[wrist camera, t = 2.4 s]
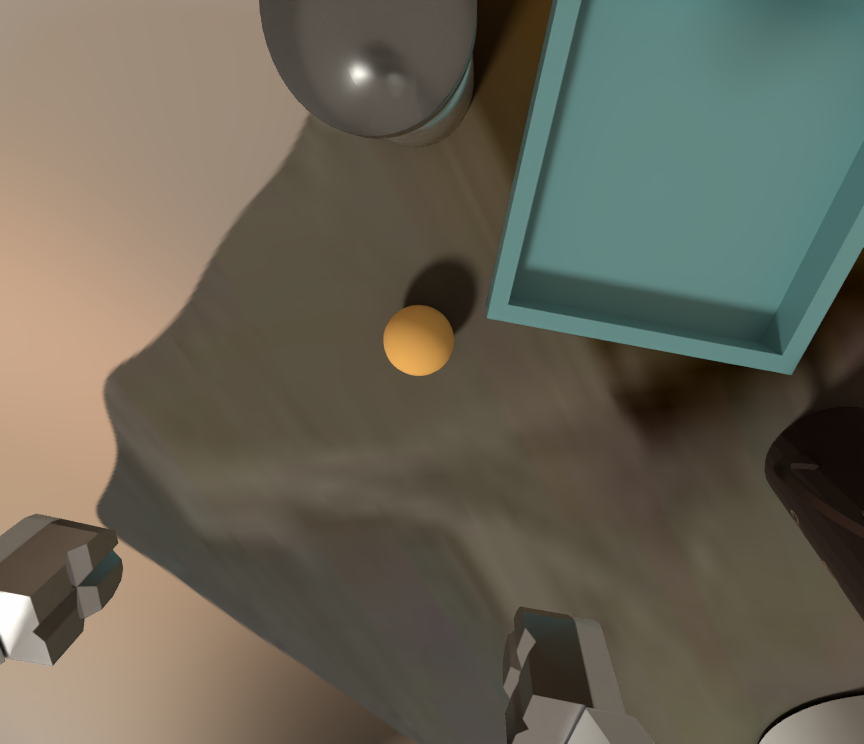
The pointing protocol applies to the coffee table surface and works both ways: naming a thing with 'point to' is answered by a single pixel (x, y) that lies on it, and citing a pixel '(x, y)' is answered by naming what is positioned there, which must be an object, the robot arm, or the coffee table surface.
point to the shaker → (377, 63)
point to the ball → (418, 340)
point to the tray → (689, 176)
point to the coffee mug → (826, 490)
